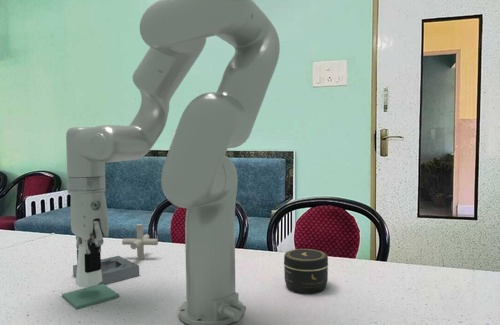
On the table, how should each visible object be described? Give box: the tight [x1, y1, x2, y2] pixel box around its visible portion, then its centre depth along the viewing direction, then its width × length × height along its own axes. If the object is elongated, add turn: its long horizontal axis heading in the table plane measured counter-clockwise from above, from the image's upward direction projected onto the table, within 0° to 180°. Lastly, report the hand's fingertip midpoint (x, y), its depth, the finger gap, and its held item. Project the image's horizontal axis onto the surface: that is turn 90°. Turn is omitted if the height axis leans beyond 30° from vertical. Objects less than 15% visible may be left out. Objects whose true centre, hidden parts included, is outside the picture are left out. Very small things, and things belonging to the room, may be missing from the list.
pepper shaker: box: [75, 235, 103, 288], centre depth 84 cm, size 5×5×11 cm
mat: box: [61, 284, 120, 310], centre depth 85 cm, size 9×9×1 cm
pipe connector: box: [121, 223, 159, 261], centre depth 112 cm, size 10×10×10 cm
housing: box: [72, 255, 140, 287], centre depth 98 cm, size 12×12×3 cm
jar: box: [283, 248, 329, 295], centre depth 89 cm, size 10×10×8 cm
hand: (89, 267), depth 84 cm, fingers closed on pepper shaker, 3 cm apart
